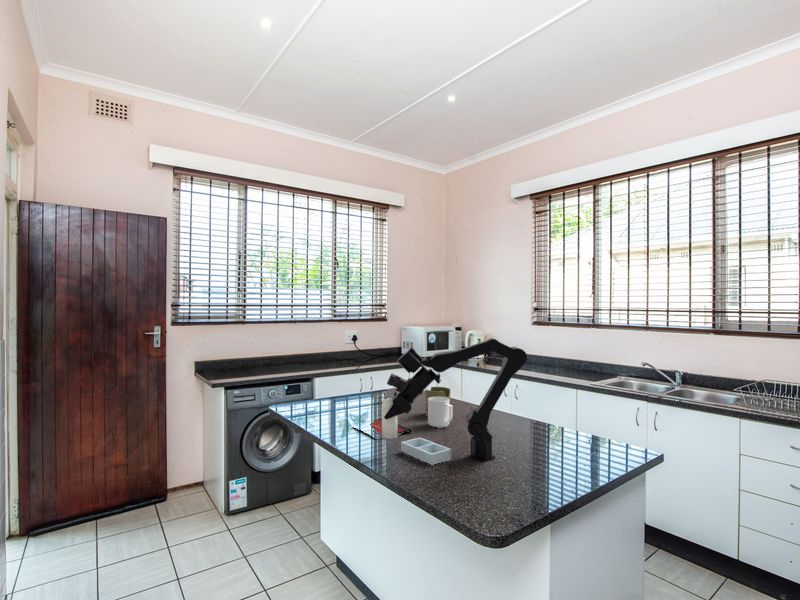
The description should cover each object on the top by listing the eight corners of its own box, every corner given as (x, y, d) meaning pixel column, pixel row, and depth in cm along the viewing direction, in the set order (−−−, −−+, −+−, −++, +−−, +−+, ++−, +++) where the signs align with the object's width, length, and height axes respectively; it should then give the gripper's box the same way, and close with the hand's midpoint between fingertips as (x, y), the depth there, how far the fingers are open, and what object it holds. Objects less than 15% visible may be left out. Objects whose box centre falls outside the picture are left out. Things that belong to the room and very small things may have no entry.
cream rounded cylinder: (400, 436, 142) (400, 398, 142) (388, 439, 138) (387, 400, 139) (391, 432, 146) (391, 395, 146) (378, 435, 143) (378, 397, 143)
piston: (420, 389, 194) (432, 385, 203) (420, 416, 194) (432, 411, 203) (443, 392, 188) (454, 388, 197) (443, 420, 188) (454, 414, 197)
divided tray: (451, 459, 139) (451, 449, 139) (431, 465, 134) (431, 454, 134) (419, 447, 151) (419, 437, 151) (401, 452, 146) (401, 442, 146)
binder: (383, 417, 185) (411, 428, 168) (383, 422, 185) (412, 434, 168) (350, 424, 176) (376, 437, 159) (350, 430, 176) (376, 443, 159)
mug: (423, 425, 179) (423, 398, 179) (438, 421, 185) (438, 395, 185) (444, 431, 170) (444, 403, 170) (459, 427, 176) (459, 400, 176)
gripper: (402, 362, 152) (371, 393, 152) (400, 370, 133) (365, 405, 133) (424, 384, 151) (393, 415, 151) (425, 395, 133) (390, 431, 133)
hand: (385, 416), depth 142 cm, fingers closed on cream rounded cylinder, 5 cm apart
